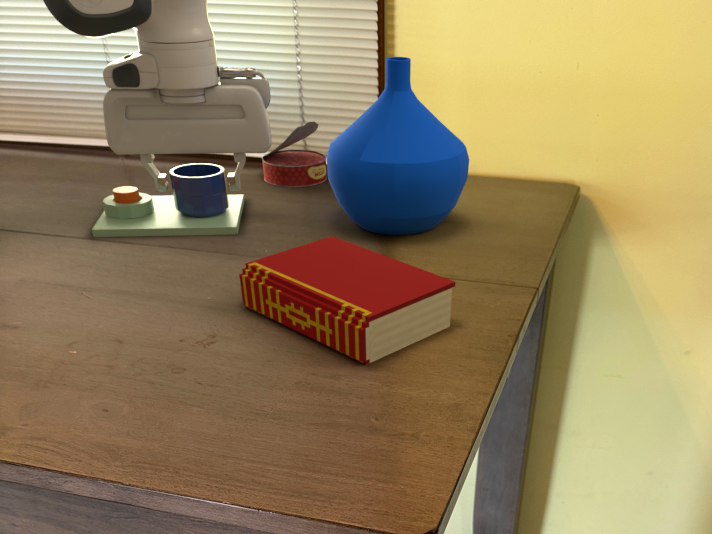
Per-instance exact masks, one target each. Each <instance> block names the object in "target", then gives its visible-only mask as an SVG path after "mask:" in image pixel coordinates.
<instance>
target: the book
mask: <svg viewBox="0 0 712 534" xmlns="http://www.w3.org/2000/svg"><path fill="white" fill-rule="evenodd" d="M244 265H245V267H243V268H242V269H241V271H242V273H240V274H239V275H238V276H239V284H240V291H241V300H242V305H244V306H245V307H246V308H248V309H250V310H252V311H254V312H256V313H258V314H261V315H262V316H265V317H266V318H268V319H271V320H273V321H275V322H277V323H279V324H280V325H283V326H284V327H287V328H289V329H292V330H293V331H295V332H298V333H300V334H301V335H303V336H305V337H307V338H309V339H312V340H314V341H316V342H318V343H320V344H322V345H324V346H326V347H329V348H331V349H332V350H335V351H336V352H339V353H341V354H343V355H345V356H347V357H349V358H351V359H353V360H355V361H357V362H360V363H362V364H364V365H365V366H367V365H369V364H371V363H373V362H376V361H377V360H380V359H382V358H384V357H386V356H389V355H391V354H393V353H396V352H397V351H399V350H402V349H404V348H406V347H408V346H410V345H412V344H415V343H417V342H419V341H421V340H424V339H426V338H428V337H431V336H432V335H435V334H436V333H439V332H441V331H443V330H445V329H448V328H450V327H451V316H452V300H453V299H452V298H453V297H452V296H453V288H455V287H456V281H454V280H452V279H450V278H447V277H444V276H441V275H439V274H436V273H433V272H431V271H428V270H425V269H422V268H420V267H416V266H414V265H411V264H409V263H405V262H403V261H400V260H398V259H395V258H392V257H389V256H387V255H384V254H382V253H379V252H376V251H373V250H371V249H368V248H366V247H363V246H360V245H358V244H354V243H352V242H349V241H346V240H344V239H341V238H338V237H335V236H334V235H333V236H332V235H331V236H327V237H324V238H321V239H319V240H315V241H312V242H308V243H305V244H302V245H299V246H295V247H292V248H289V249H287V250H282V251H280V252H277V253H274V254H270V255H267V256H264V257H261V258H258V259H255V260H251V261H248V262H245V263H244Z"/></svg>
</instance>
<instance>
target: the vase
mask: <svg viewBox="0 0 712 534" xmlns="http://www.w3.org/2000/svg"><path fill="white" fill-rule="evenodd" d="M411 60H412V59H411V58H410V57H406V56H389V57H386V58H385V84H384V90H382V91H381V93H380V95H379V96H378V98H377V100H375V102H373V103H372V104H371V105H370V106H369V107H368V108H367V109H366V110H365V111H364V112H363V113H361V115H360V116H359V117H357V119H356V120H355V121H353V122H352V123H351V124H350V125H349V126H348V127H347V128H345V129H344V130H343V131H342V132H341V133H340V134H338V136H336V137H335V138H334V139H333V140H332V141H331V142H329V145H328V149H327V153H326V155H325V156H326V169H327V180H328V182H329V185H330V187H331V189H332V192H333V194H334V196H335V199H336V201H337V203H338V205H339V206H340V208H341V209H342V210H343V211H344V212H345V214H346V215H347V216H348V217H349V219H351V221H352V222H353V223H355V224H356V225H357V226H359V227H360V228H361V229H363V230H365V231H368V232H371V233H375V234H381V235H390V236H408V235H416V234H421V233H425V232H428V231H431V230H433V229H434V228H435V227H437V226H438V225H439V224H440V223H442V222H444V221H445V220H446V218H447V217H448V216H449V215H450V214H451V212H452V211H453V210H454V208H455V207H456V206H457V205H458V201H459V199H460V197H461V195H462V192H463V190H464V188H465V185H466V183H467V180H468V177H469V167H470V156H469V153H468V149H467V146H466V144H465V143H464V142H463V141H462V140H461V139H460V138H459V137H458V136H456V135H455V134H454V132H452V131H451V130H450V129H449V128H448V127H447V126H446V125H445V124H444V123H442V121H441V120H439V119H438V117H437V116H436V115H434V114H433V113H432V112H431V111H430V109H428V108H427V107H426V106H425V104H423V103H422V102H421V101H420V99H419V98H418V97H417V95H416V93H415V92H414V91H413V89H412V84H411V83H412V82H411V65H412V64H411Z"/></svg>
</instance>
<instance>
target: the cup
mask: <svg viewBox="0 0 712 534" xmlns="http://www.w3.org/2000/svg"><path fill="white" fill-rule="evenodd" d="M169 179H170V184H171V189H172V196H174V201H175V207H176V209H177V210H178V211H179V212H181V214H183V215H185V216H188V217H196V218H204V217H212V216H217V215H220V214H222V213H224V212H225V211H226V209H227V208H228V207H229V200H228V195H229V193H228V186H227V185H228V184H227V177H226V169H225V168H224V167H223V166H222V165H218V164H214V163H203V162H199V163H195V162H193V163H186V164H182V165H177V166H175V167H173V168H171V169H170V170H169Z"/></svg>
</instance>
